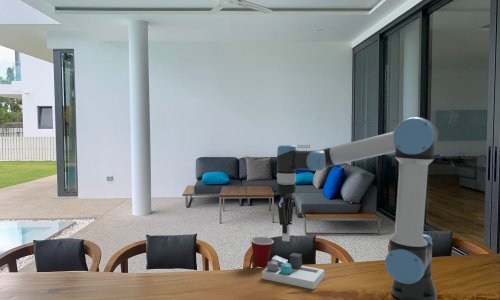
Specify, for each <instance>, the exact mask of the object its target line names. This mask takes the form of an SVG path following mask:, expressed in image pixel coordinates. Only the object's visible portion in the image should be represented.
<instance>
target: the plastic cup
mask: <svg viewBox="0 0 500 300" xmlns="http://www.w3.org/2000/svg"><path fill="white" fill-rule="evenodd" d="M249 241H250V243H251V248H252V255H253V260H254V265H255V267H256V268H262V269H263V268H267V262H269V261H270V255H271V252H272V251H271V250H272V246H273V244H274V240H273V239H272V238H270V237H265V236H253V237H251V238H250V240H249Z"/></svg>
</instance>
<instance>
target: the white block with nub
mask: <svg viewBox="0 0 500 300" xmlns="http://www.w3.org/2000/svg"><path fill="white" fill-rule="evenodd" d="M270 261H276V262H278V264H280V265H281V264H284V263H288V262H289V260H288V259H286V258H283V257H282V256H278V255H274V256H273V257H271V259H270Z"/></svg>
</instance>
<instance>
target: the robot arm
mask: <svg viewBox="0 0 500 300" xmlns="http://www.w3.org/2000/svg"><path fill="white" fill-rule="evenodd" d="M439 137H440V133H439V129H438V128H437V126H436V124H435V123H433V122H432V121H431V120H429V119H426V118H424V117H422V116H421V117H419V116H415V117H412V116H411V117H408V118H406V119H404V120H402V121H400V122H399V123H398V124H397V126H396V127H395V128H394V130H393V131H391V132H388V133H383V134H379V135H375V136H372V137H371V136H370V137H367V138H363V139H359V140H356V141H352V142H351V141H350V142H348V143H343V144H340V145H336V146H332V147H327V148H323V149H318V150H316V149H315V150H297V146H296V145H291V144H290V145H288V144H287V145H286V144H285V145H282V144H280V145H278V146H277V151H276V161H277V163H276V171H277V172H276V182H277V184H276V192H277V194H280V196H279V202H278V201H277V203H276V205H277V210H278V221H279V225H280V226H281V241H282V242H290V240H291V239H290V238H291V237H290V233H291V232H290V231H291V229H290V227H291V226H292V225H293V216H294V205H295V204H294V203H295V200H296V199H295V198H294V197H293V194H295V193H296V187H297V186H296V184H295V183H296V181H297V180H296V179H297V178H296V177H297V175H296V173H297V172H296V171H297V170H303V171H304V170H305V171H312V172H313V171H323V170H324V169H325V168H329V167H333V166H336V165H342V164H347V163H350V162H356V161H360V160H365V159H369V158H374V157H378V156H383V155H388V154H393V153H394V158H395V160H396V161H398V164H399V167H398V180H397V192H396V193H397V195H396V209H395V211H396V212H395V224H394V233H393V234H391V235H390V236H389V242H388V253H387V254H386V256H385V260H384V265H385V270H386V272H387V273H388V275H389V276H390V277H391V279H393V281H392V284H391V294H392V295H393V296H394V297H395V298H396V299H398V300H437V299H438V298H437V297H438V295H437V294H438V293H437V290H436V287H435V284H434V281H433V278H432V272H433V271H432V266H433V265H432V263H433V259H432V257H433V254H432V253H433V245H434V243H433V239H432V237H431V236H430V235H428V234H426V233H425V234H424V226H425V211H426V198H427V186H428V173H429V172H428V171H429V165H430V164H431V163H433V161H434V160H435V149H436V147H435V146H436V145H437V143H438V141H439ZM290 225H291V226H290Z"/></svg>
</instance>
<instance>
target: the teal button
mask: <svg viewBox="0 0 500 300" xmlns="http://www.w3.org/2000/svg"><path fill="white" fill-rule="evenodd" d="M281 274H284V275H288V274H291V264H287V263H284V264H281Z"/></svg>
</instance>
